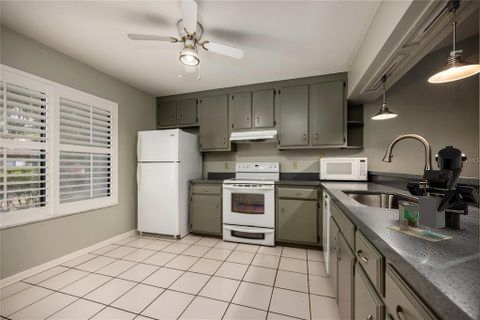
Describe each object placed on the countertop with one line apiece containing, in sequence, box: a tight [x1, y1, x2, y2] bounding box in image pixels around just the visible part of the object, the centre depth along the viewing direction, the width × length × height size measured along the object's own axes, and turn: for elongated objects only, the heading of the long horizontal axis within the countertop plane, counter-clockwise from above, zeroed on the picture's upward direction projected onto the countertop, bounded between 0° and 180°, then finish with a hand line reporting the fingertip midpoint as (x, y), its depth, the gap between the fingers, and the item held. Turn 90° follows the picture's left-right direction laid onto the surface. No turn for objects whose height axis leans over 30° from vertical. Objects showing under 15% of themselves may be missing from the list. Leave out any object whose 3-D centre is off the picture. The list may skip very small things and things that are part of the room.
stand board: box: [386, 218, 454, 243], centre depth 73 cm, size 11×15×5 cm
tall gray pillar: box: [417, 195, 446, 229], centre depth 71 cm, size 5×5×10 cm
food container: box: [398, 200, 419, 227], centre depth 84 cm, size 12×6×10 cm, turn 150°
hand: (428, 209), depth 70 cm, fingers closed on tall gray pillar, 5 cm apart
